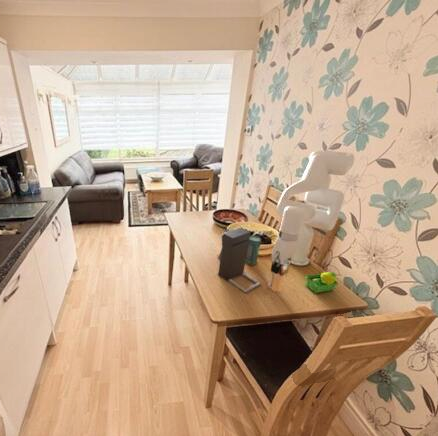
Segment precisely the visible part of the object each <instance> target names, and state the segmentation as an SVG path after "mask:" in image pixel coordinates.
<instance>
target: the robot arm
mask: <svg viewBox="0 0 438 436" xmlns="http://www.w3.org/2000/svg"><path fill="white" fill-rule="evenodd" d="M308 160H309V162H308V164H307V166H306V169H305V170H304V173H303V175H302V177H301V179H300V180H299V181H297V182H295V183H292V184H291V185H290V186H289V187H287V188H285V190H284V191H283V192H282V194H281V196H280V199H279V200H278V202H277V205H276V213H277V214H278V215H279V216H282V218H281V223H280V227H279V229H278V230H279V231H278V235H277V238H276V240H275V242H274V246H273V248H272V252H271V256H270V257H271V258H270V262H271V266H272V267H271V266H270V272H271V271H272V272H274V273H276V274H278V272H279V268H280V266H279V265H280V263H281V261H284V260H286V259H288V260H289V261H290V265H294V266H302V267H304V266H308V265H309V263H310V260H309V258H308V256H309V255H308V254H310V253H311V252H310V249H311V245H312V242H313V239H314V236H315V232H314V230H313V228H315V229H319V230H321V231H322V230H323V231H332V230H333V229H334V228H335V226H336V224H337V221H338V218H339V215H340V212H341V210H342V207H343V204H344V200H345V193H344V192H343V191H341V190H338V189H333V188H329V187H330V184H331V182H332V176H331V175H333V176H345V175H346V174H347V173H348V172H349V171H350V170H351V169H352V167H353V165H354V163H355V154H354V153H352V152H344V151H333V150H315V151H312V152H311V154H310V155H309V159H308ZM304 193H305V194H304ZM299 194H304V202H301V201H297V200H293V199H290V198H292V197H293V196H295V195H299ZM316 207H318V208H316ZM319 207H320V208H324V209H320V208H319ZM325 209H327V210H325ZM278 257H279V259H278ZM276 260H278V261H279V262H278V263H277V262H276Z"/></svg>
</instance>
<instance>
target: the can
mask: <svg viewBox="0 0 438 436" xmlns="http://www.w3.org/2000/svg"><path fill="white" fill-rule="evenodd" d="M261 243H262V238H261V237H259V236H257V235H250V237H249V245H248V251H247V256H246V261H245V265H249V266H255V265H256V264H257V261H258V256H259V252H260V248H261Z"/></svg>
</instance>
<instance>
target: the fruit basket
mask: <svg viewBox="0 0 438 436" xmlns="http://www.w3.org/2000/svg"><path fill="white" fill-rule="evenodd" d="M336 279H337V274H336V273H335V272H333V271H330V272H328V271H327V272H322V273H318V274H312V275H306V276H305V280H306V286H307V287H308V288H309V289H310V290H311V291H313V293H315V294H317V293H322V292H330V291H332V290H333V289H334V288H335V287H336V286H338V284H339V282H338V281H337V280H336Z"/></svg>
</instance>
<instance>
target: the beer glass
mask: <svg viewBox="0 0 438 436" xmlns="http://www.w3.org/2000/svg"><path fill="white" fill-rule="evenodd" d="M278 259H279V257H278ZM276 262H277V263H278V262H279V261H278V260H276ZM290 265H291V263H290V261H289V260H288V259H286V260H284V261H281V263H280V265H279V266H280V268H279V272H278V274H276V273H274V272H272V271H271V270H270V279H269V281H268V283H267V287H268V288H269V290H271V291H274V292H281V291H282V290H283V286H284V285H283V284H284V281H285V280H286V278H287V276H288V274H289V271H290ZM271 267H272V265H270V268H271Z"/></svg>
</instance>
